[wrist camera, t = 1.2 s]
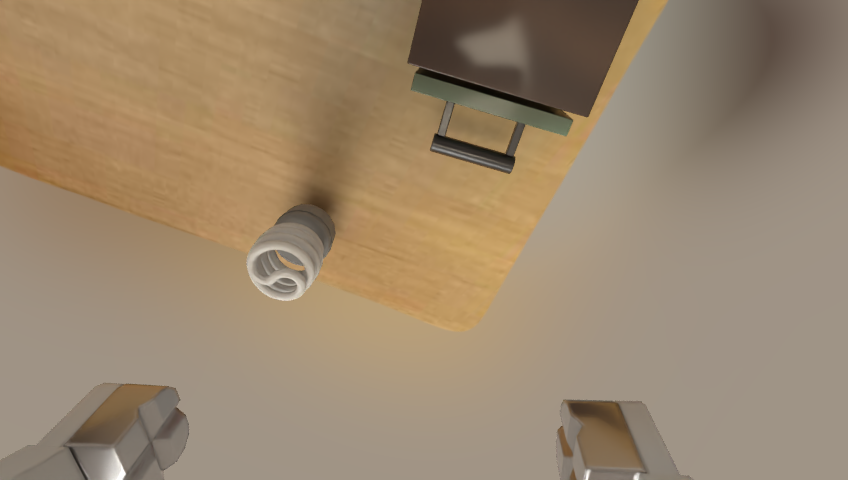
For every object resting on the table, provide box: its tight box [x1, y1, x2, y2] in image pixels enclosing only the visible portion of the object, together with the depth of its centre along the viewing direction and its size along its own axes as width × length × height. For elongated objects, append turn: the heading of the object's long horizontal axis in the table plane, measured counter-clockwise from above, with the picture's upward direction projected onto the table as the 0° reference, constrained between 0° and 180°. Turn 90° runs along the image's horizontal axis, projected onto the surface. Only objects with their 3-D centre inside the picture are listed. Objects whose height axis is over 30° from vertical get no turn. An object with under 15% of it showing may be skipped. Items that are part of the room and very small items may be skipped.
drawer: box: [411, 67, 573, 174], centre depth 32 cm, size 19×11×7 cm, turn 165°
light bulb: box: [247, 204, 335, 301], centre depth 40 cm, size 6×6×12 cm
